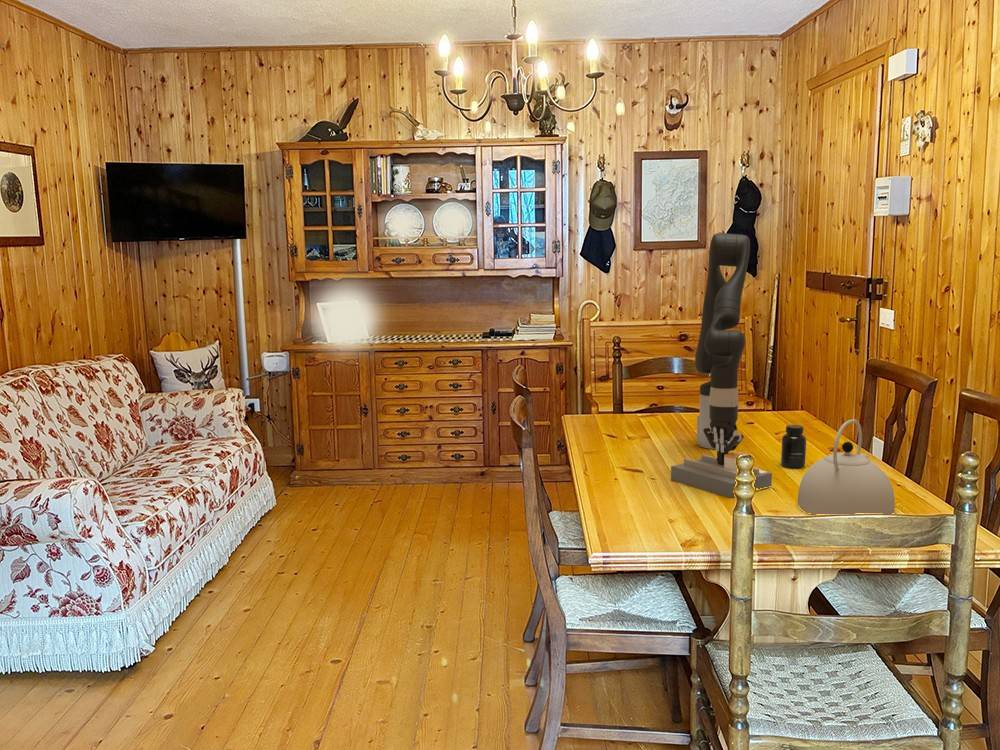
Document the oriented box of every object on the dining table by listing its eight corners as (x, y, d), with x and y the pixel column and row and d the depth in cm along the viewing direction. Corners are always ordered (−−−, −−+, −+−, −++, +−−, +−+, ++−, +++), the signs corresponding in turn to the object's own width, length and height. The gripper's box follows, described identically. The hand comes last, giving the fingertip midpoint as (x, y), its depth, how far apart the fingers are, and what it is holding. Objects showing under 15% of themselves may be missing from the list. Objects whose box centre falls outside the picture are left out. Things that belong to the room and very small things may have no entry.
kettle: (820, 487, 234) (823, 406, 230) (909, 503, 219) (914, 416, 215) (782, 511, 215) (785, 423, 212) (876, 530, 201) (881, 435, 197)
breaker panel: (671, 479, 245) (671, 460, 244) (710, 469, 253) (710, 451, 252) (731, 498, 227) (731, 477, 226) (771, 487, 235) (772, 467, 234)
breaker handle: (724, 472, 235) (724, 454, 234) (736, 469, 238) (736, 451, 237) (732, 475, 232) (732, 456, 232) (745, 472, 235) (745, 453, 234)
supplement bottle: (795, 470, 251) (796, 429, 249) (776, 465, 256) (777, 425, 254) (810, 466, 254) (811, 426, 252) (791, 461, 260) (792, 422, 258)
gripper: (695, 401, 239) (695, 462, 242) (733, 408, 228) (731, 472, 231) (714, 397, 243) (713, 457, 246) (752, 404, 232) (750, 467, 235)
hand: (722, 464), depth 238 cm, fingers closed
